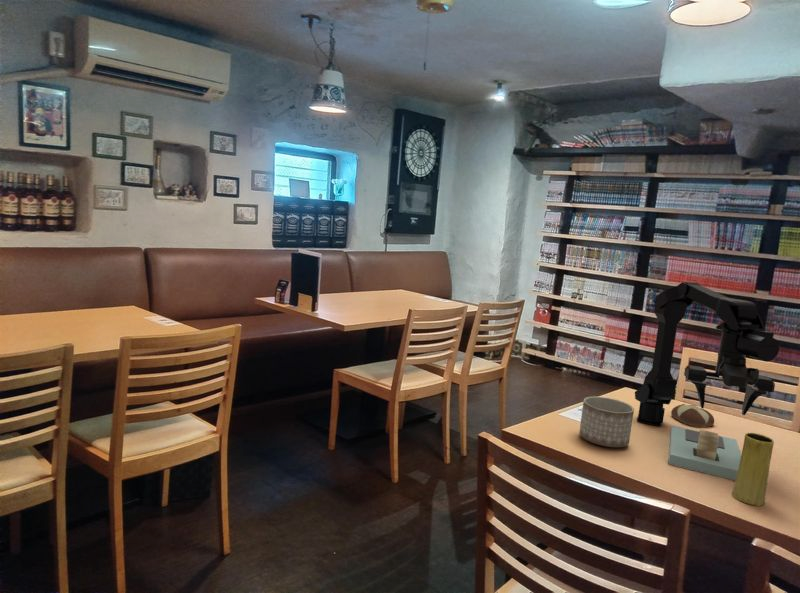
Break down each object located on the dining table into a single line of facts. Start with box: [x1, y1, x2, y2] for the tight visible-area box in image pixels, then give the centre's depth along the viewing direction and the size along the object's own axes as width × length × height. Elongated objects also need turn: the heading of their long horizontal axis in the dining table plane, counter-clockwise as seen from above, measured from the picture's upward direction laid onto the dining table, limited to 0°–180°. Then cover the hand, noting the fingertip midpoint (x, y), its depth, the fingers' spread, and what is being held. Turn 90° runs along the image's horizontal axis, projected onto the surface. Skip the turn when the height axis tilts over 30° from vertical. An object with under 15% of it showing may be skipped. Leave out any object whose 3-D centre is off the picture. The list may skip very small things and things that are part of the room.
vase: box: [731, 432, 775, 507], centre depth 118 cm, size 6×6×14 cm
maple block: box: [696, 429, 720, 461], centre depth 135 cm, size 4×4×8 cm
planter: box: [578, 395, 635, 448], centre depth 145 cm, size 13×13×10 cm
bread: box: [670, 403, 715, 429], centre depth 167 cm, size 11×11×5 cm
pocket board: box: [668, 424, 742, 481], centre depth 141 cm, size 16×24×3 cm, turn 152°
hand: (722, 411), depth 135 cm, fingers open, 9 cm apart
